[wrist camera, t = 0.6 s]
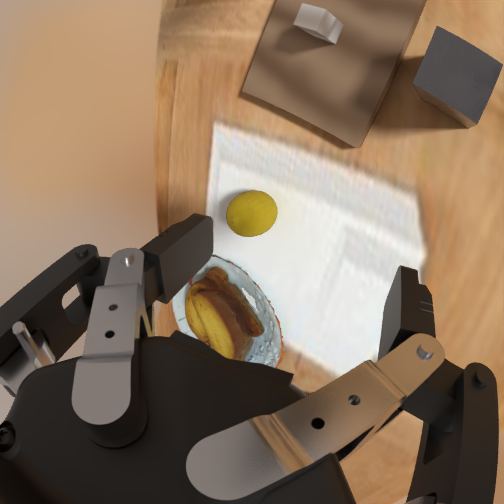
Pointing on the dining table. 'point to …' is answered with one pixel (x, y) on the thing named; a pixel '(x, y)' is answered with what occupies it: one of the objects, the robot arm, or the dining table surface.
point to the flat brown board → (332, 60)
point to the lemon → (251, 213)
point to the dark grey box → (456, 77)
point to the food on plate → (229, 314)
